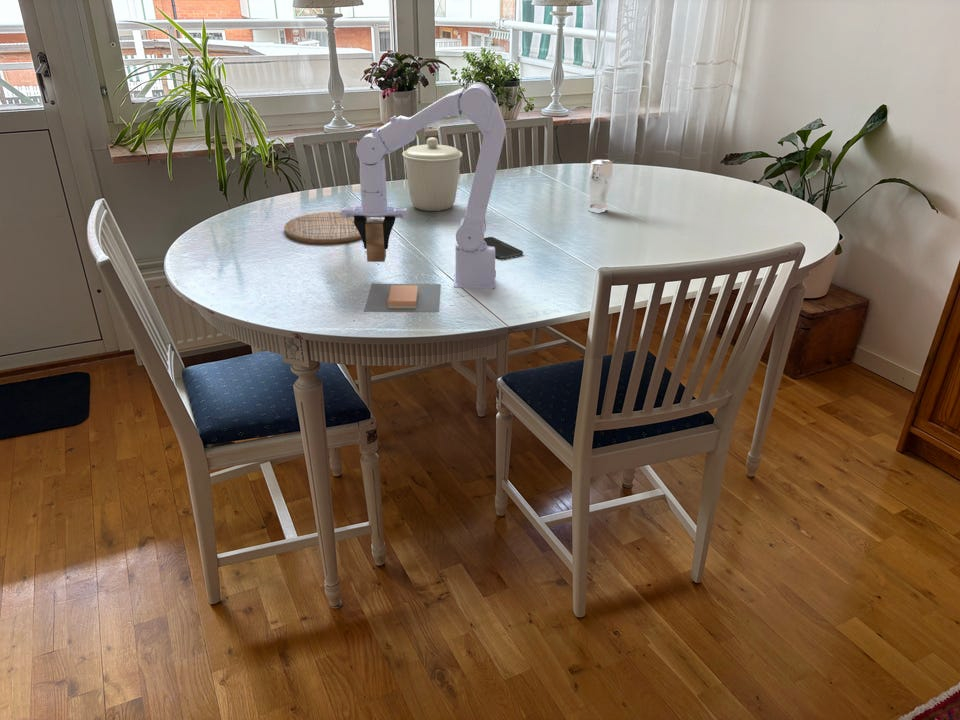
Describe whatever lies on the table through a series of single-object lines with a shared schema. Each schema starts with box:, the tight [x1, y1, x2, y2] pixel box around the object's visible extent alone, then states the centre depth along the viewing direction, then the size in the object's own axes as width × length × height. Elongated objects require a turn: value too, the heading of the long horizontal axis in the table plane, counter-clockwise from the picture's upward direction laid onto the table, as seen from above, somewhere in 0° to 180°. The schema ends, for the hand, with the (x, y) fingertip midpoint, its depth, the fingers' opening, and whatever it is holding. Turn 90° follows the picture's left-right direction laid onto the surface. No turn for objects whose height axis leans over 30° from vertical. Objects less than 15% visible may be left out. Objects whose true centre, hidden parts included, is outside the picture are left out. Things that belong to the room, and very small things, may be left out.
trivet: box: [284, 211, 372, 246], centre depth 207 cm, size 25×25×2 cm
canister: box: [401, 136, 463, 212], centre depth 225 cm, size 18×18×21 cm
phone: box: [484, 236, 524, 261], centre depth 195 cm, size 8×1×15 cm
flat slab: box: [388, 285, 418, 308], centre depth 163 cm, size 6×2×9 cm
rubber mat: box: [363, 283, 442, 313], centre depth 165 cm, size 16×16×1 cm
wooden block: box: [365, 218, 387, 263], centre depth 171 cm, size 4×4×9 cm
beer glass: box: [587, 158, 614, 209], centre depth 226 cm, size 7×7×15 cm
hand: (376, 247), depth 172 cm, fingers closed on wooden block, 4 cm apart
